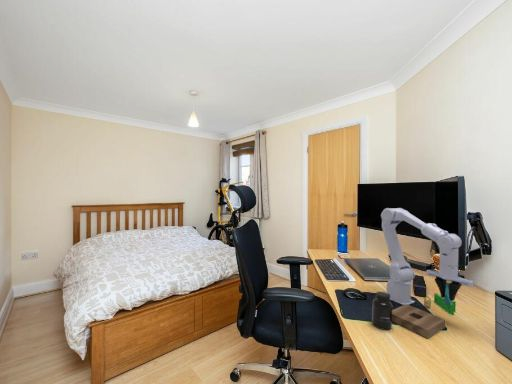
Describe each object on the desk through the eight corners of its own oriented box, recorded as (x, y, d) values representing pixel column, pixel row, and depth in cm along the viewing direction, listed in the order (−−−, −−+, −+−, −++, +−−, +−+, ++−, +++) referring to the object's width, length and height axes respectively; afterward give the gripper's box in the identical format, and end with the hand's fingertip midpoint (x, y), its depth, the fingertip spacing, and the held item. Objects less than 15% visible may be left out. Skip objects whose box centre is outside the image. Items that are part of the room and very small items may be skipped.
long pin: (442, 302, 93) (443, 283, 93) (445, 301, 95) (445, 281, 95) (450, 305, 91) (450, 285, 91) (452, 304, 93) (453, 284, 93)
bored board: (387, 319, 94) (388, 312, 94) (406, 310, 101) (406, 303, 101) (427, 338, 82) (427, 330, 82) (445, 327, 89) (445, 319, 89)
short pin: (422, 306, 105) (423, 297, 105) (425, 305, 106) (425, 296, 106) (429, 309, 103) (429, 300, 103) (431, 307, 104) (431, 298, 104)
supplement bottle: (384, 332, 85) (385, 299, 85) (368, 322, 91) (368, 292, 91) (396, 327, 89) (396, 296, 88) (379, 318, 95) (379, 289, 95)
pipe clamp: (460, 316, 98) (460, 305, 98) (450, 315, 99) (451, 304, 99) (442, 303, 109) (442, 293, 109) (433, 302, 110) (434, 292, 110)
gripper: (423, 261, 97) (422, 293, 97) (468, 271, 85) (467, 309, 85) (431, 258, 101) (430, 290, 101) (475, 268, 88) (474, 304, 88)
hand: (447, 298), depth 93 cm, fingers closed on long pin, 2 cm apart
